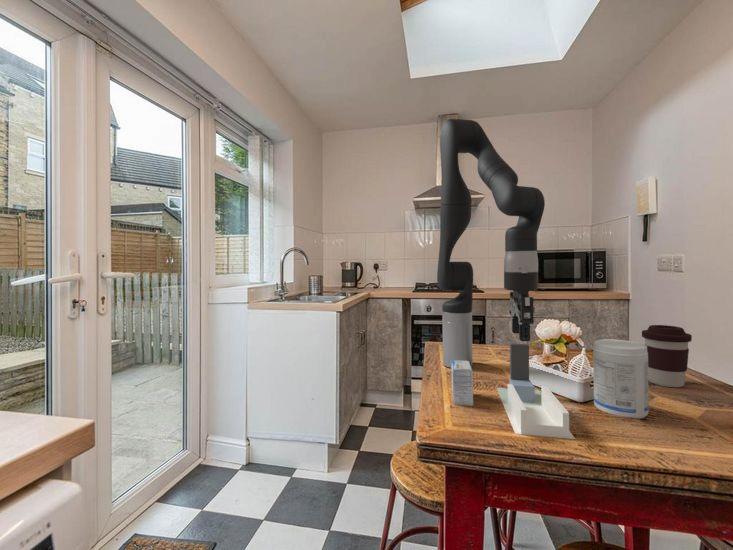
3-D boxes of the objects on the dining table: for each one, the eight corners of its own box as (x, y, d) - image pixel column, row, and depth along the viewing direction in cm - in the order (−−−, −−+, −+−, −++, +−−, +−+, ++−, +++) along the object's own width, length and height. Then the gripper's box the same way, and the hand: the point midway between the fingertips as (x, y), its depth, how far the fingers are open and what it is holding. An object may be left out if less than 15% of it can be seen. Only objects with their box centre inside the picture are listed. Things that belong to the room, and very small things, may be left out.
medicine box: (473, 408, 77) (473, 369, 77) (452, 407, 78) (452, 368, 78) (470, 395, 85) (469, 360, 85) (451, 394, 86) (451, 359, 85)
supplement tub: (616, 400, 80) (616, 337, 80) (660, 417, 71) (660, 346, 71) (582, 405, 78) (582, 340, 77) (623, 423, 69) (623, 349, 68)
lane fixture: (496, 390, 88) (496, 370, 88) (539, 392, 86) (538, 372, 86) (515, 436, 64) (515, 409, 64) (575, 442, 61) (575, 413, 61)
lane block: (509, 391, 85) (509, 343, 85) (528, 392, 84) (528, 343, 84) (513, 400, 79) (513, 348, 79) (534, 402, 78) (534, 349, 78)
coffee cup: (700, 386, 88) (700, 328, 88) (677, 392, 85) (677, 331, 85) (655, 375, 98) (655, 322, 97) (633, 380, 94) (633, 325, 94)
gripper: (499, 269, 91) (499, 330, 92) (509, 271, 77) (509, 343, 78) (530, 269, 89) (529, 331, 90) (546, 271, 75) (545, 344, 76)
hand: (520, 336), depth 84 cm, fingers open, 8 cm apart
